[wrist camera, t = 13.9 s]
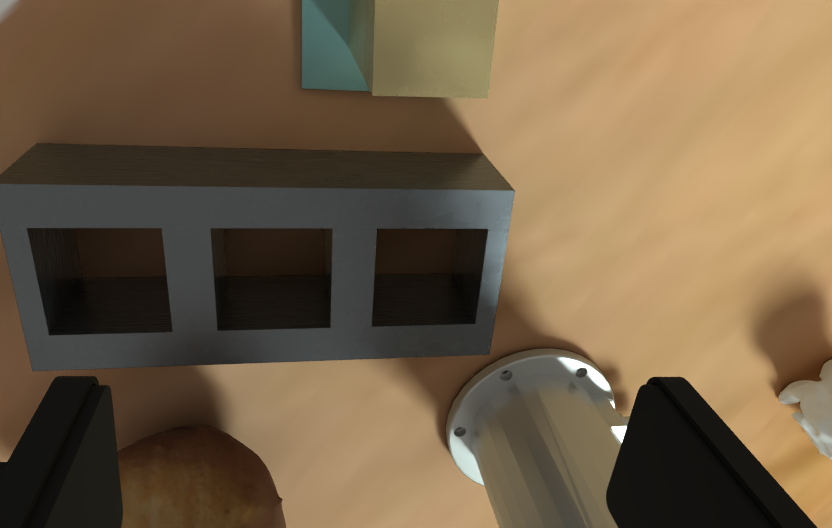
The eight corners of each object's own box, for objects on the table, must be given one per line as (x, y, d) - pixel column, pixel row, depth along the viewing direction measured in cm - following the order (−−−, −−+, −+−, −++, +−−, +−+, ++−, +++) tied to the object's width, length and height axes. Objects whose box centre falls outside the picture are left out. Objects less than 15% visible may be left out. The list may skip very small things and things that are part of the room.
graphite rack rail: (483, 154, 38) (514, 190, 33) (464, 301, 43) (489, 354, 37) (36, 143, 34) (-11, 183, 28) (68, 309, 38) (32, 371, 33)
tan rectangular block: (438, -43, 32) (501, -29, 23) (432, 49, 34) (488, 98, 25) (349, -48, 31) (376, -36, 22) (348, 46, 33) (372, 95, 24)
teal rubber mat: (486, -91, 32) (489, -91, 32) (465, 92, 36) (468, 95, 36) (301, -109, 31) (301, -110, 30) (301, 85, 35) (301, 88, 34)
